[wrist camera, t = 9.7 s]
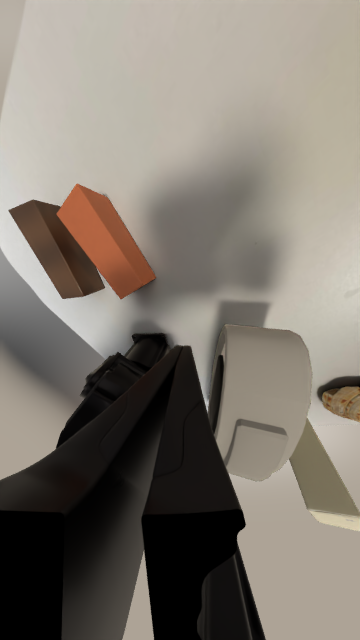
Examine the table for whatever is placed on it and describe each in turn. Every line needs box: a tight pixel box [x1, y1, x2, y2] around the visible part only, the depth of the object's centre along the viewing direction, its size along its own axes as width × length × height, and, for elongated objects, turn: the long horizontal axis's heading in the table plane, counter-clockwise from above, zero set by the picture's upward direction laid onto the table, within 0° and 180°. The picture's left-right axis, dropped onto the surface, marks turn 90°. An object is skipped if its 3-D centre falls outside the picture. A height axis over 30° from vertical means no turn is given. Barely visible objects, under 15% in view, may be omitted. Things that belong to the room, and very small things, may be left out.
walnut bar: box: [8, 200, 105, 299], centre depth 17 cm, size 10×4×4 cm, turn 10°
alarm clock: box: [208, 324, 312, 481], centre depth 18 cm, size 23×6×13 cm, turn 1°
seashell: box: [322, 386, 360, 422], centre depth 20 cm, size 8×6×8 cm
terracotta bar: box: [57, 184, 156, 299], centre depth 16 cm, size 10×4×4 cm, turn 31°
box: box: [289, 418, 360, 531], centre depth 19 cm, size 5×4×13 cm
